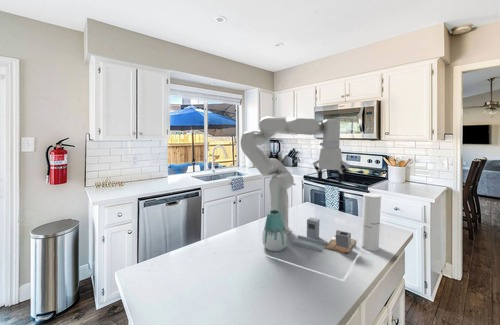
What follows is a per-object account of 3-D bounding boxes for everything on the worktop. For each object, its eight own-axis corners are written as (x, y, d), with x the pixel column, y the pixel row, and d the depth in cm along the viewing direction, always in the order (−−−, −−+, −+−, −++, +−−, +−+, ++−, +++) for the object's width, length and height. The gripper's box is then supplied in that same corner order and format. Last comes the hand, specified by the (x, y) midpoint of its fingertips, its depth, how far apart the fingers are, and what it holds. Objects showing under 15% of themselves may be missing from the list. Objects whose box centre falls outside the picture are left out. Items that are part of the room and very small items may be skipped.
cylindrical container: (380, 251, 110) (383, 197, 107) (363, 250, 112) (365, 196, 109) (375, 244, 117) (378, 193, 114) (359, 243, 119) (361, 192, 116)
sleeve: (335, 249, 110) (336, 234, 109) (339, 245, 114) (339, 230, 113) (347, 252, 107) (348, 236, 106) (350, 247, 111) (350, 233, 110)
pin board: (323, 249, 113) (324, 237, 112) (334, 237, 126) (334, 226, 125) (348, 255, 107) (348, 243, 106) (356, 242, 120) (357, 231, 119)
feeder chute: (291, 244, 118) (291, 240, 118) (298, 238, 125) (298, 235, 124) (321, 252, 110) (321, 248, 109) (327, 246, 116) (327, 242, 116)
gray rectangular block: (306, 238, 125) (306, 219, 123) (309, 235, 128) (310, 217, 127) (316, 241, 122) (316, 221, 120) (319, 238, 125) (319, 219, 124)
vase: (277, 257, 106) (277, 217, 104) (257, 249, 114) (256, 211, 112) (292, 247, 115) (292, 210, 113) (272, 240, 123) (272, 206, 120)
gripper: (310, 145, 118) (310, 180, 120) (347, 146, 108) (346, 184, 110) (316, 144, 124) (315, 178, 126) (352, 145, 114) (350, 181, 116)
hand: (330, 180), depth 118 cm, fingers open, 9 cm apart
